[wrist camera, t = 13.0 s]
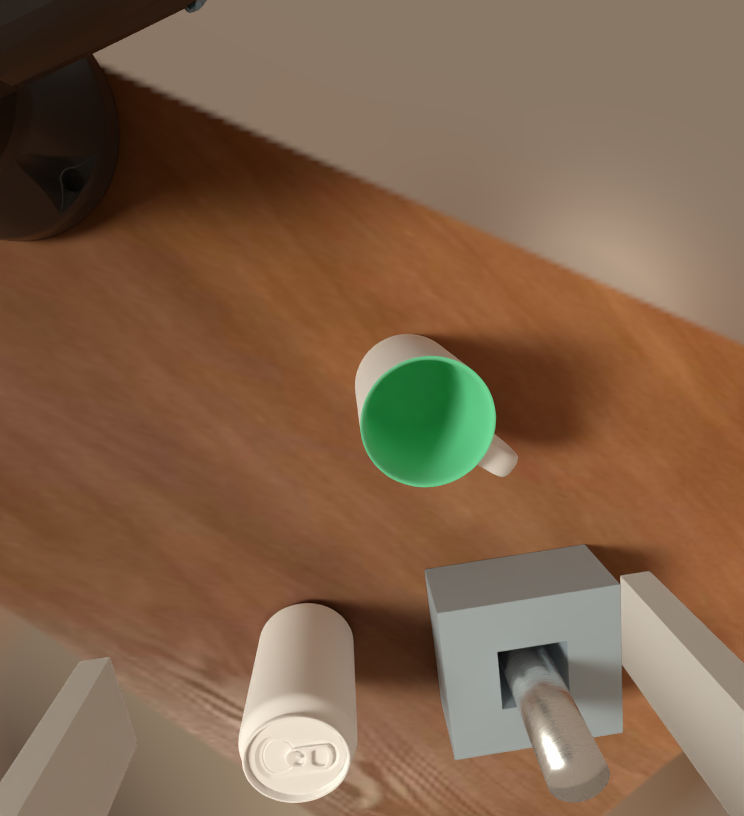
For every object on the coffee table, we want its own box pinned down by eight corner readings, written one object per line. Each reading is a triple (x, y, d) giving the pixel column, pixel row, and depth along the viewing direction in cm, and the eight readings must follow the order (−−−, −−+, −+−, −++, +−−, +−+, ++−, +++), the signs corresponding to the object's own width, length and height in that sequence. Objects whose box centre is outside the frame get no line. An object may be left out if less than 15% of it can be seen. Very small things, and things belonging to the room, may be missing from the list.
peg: (487, 613, 47) (546, 758, 33) (532, 607, 47) (609, 749, 33) (490, 651, 48) (548, 806, 34) (534, 644, 48) (609, 797, 34)
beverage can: (258, 599, 45) (231, 712, 34) (353, 597, 46) (358, 708, 34) (262, 678, 47) (237, 811, 36) (353, 675, 48) (357, 805, 36)
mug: (519, 390, 42) (575, 428, 32) (465, 474, 44) (502, 535, 34) (388, 314, 40) (404, 330, 30) (336, 405, 41) (335, 449, 31)
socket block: (424, 569, 46) (436, 613, 40) (584, 544, 46) (620, 584, 40) (441, 702, 49) (455, 760, 43) (589, 678, 50) (622, 732, 44)
